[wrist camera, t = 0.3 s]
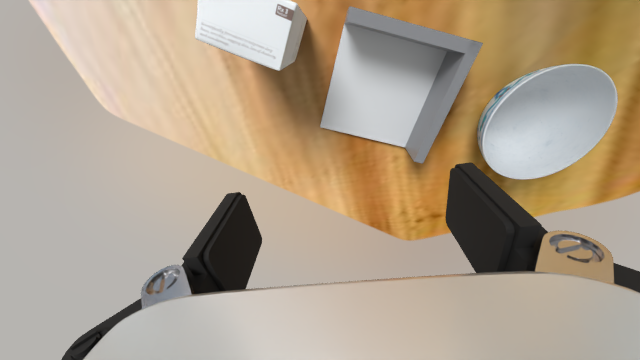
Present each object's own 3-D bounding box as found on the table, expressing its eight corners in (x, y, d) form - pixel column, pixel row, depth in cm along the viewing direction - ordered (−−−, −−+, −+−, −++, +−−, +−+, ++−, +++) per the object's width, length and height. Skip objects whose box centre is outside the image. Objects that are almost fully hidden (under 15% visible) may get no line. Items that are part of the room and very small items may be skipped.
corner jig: (347, 11, 32) (349, 6, 27) (459, 42, 33) (483, 43, 28) (320, 125, 40) (318, 138, 35) (411, 147, 41) (422, 163, 36)
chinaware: (482, 52, 34) (519, 56, 27) (588, 66, 34) (650, 73, 27) (443, 151, 41) (464, 172, 35) (529, 162, 41) (567, 185, 35)
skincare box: (242, 40, 34) (188, 40, 22) (251, -11, 31) (193, -44, 19) (298, 62, 36) (278, 76, 23) (311, 15, 33) (297, 1, 20)
